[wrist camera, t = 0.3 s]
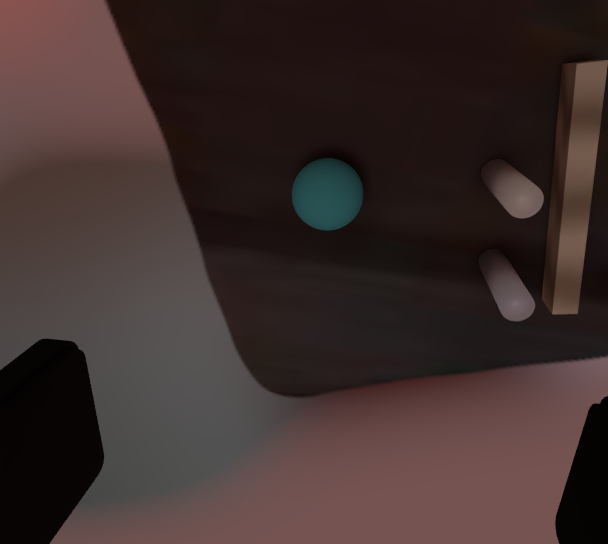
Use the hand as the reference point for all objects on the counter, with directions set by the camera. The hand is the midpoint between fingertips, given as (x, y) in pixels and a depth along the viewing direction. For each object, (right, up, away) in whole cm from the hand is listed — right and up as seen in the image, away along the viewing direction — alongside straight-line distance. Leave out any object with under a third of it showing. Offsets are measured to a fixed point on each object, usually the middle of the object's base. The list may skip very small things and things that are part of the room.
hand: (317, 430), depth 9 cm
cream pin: (+16, +11, +31) cm, 37 cm away
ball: (+2, +9, +31) cm, 32 cm away
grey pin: (+17, +4, +34) cm, 38 cm away
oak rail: (+22, +10, +31) cm, 39 cm away
